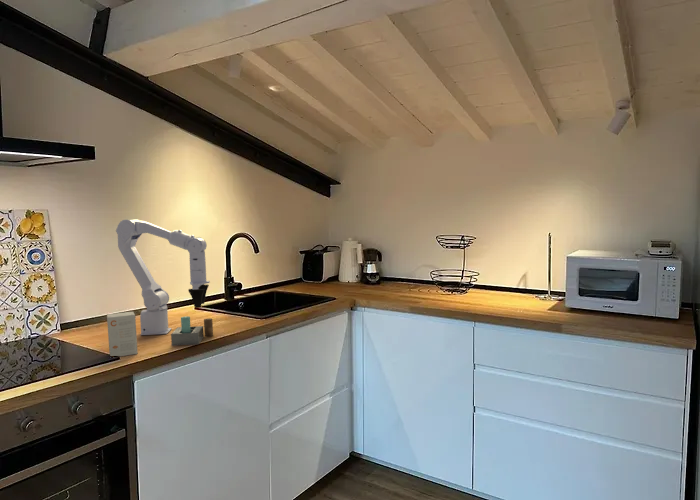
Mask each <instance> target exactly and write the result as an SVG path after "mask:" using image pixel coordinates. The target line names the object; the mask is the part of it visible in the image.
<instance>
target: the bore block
mask: <svg viewBox="0 0 700 500" xmlns="http://www.w3.org/2000/svg"><path fill="white" fill-rule="evenodd" d="M190 327H191V333H182V330H181V326H180V327H179V326H178V327H176V329H174V330H173V331H172V332H171V334H170V339H171V346H172V347H174V346H191V345H192V346H193V345H200V343H201V342H202V341H203V339H204V337H205V334H204V325H202V326H198V325H197V326H190Z"/></svg>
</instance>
